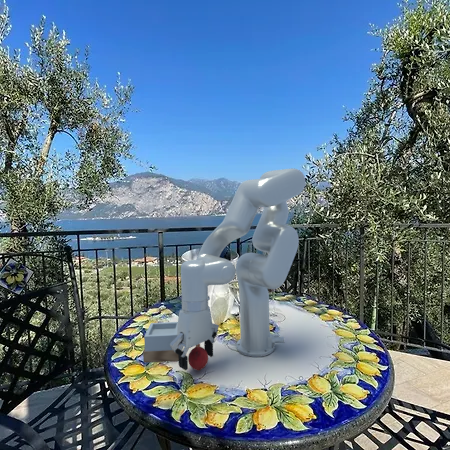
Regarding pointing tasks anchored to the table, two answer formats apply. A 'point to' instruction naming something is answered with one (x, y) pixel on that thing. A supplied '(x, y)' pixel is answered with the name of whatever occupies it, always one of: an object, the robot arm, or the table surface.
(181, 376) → the table surface
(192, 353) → the onion
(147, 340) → the grey top block
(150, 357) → the walnut base block
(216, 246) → the robot arm
